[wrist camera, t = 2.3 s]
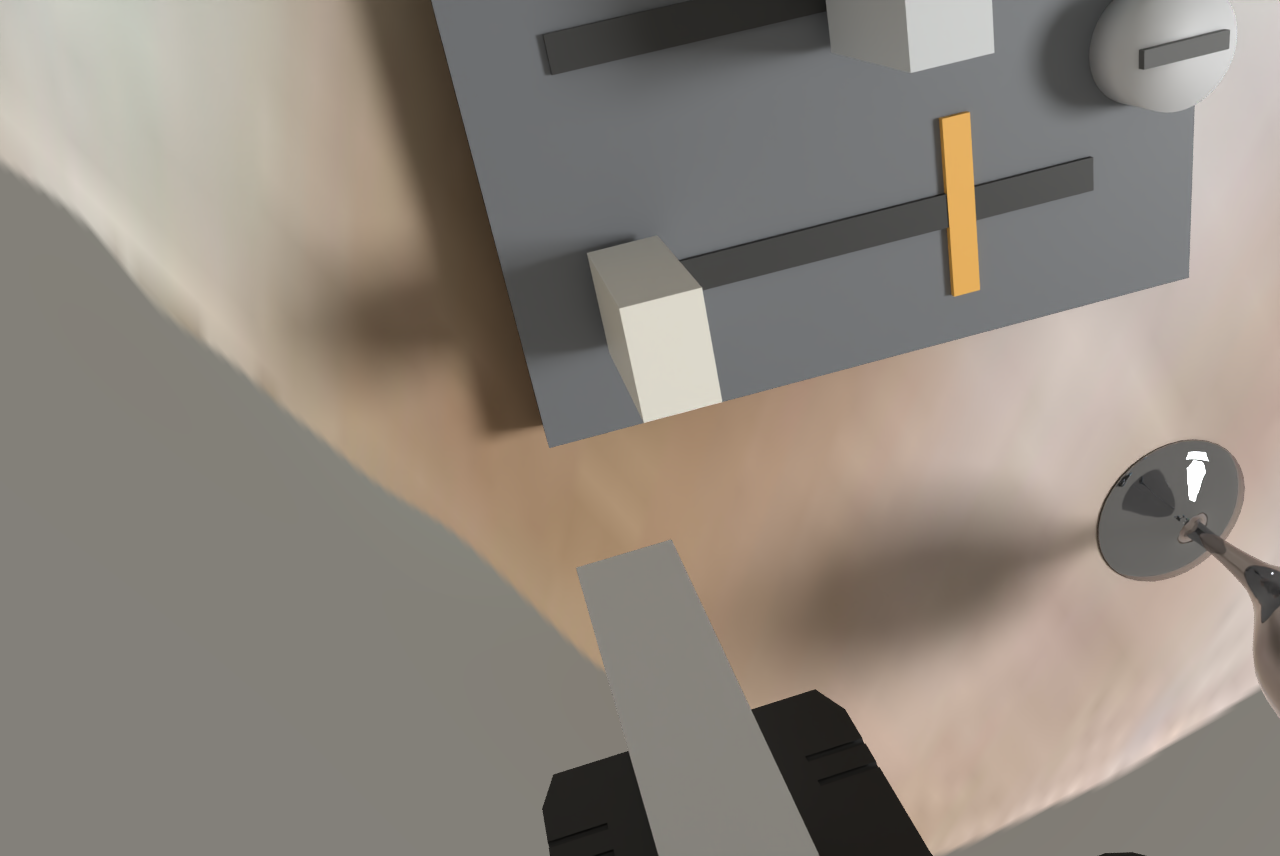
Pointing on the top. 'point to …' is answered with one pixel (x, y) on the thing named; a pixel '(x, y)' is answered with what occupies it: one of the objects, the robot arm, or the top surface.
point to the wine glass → (1191, 534)
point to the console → (823, 174)
